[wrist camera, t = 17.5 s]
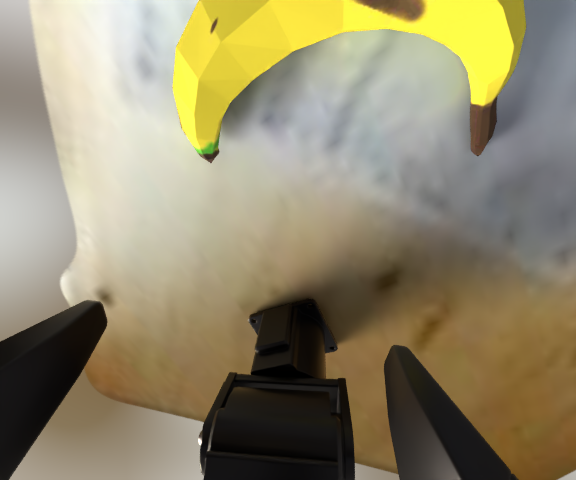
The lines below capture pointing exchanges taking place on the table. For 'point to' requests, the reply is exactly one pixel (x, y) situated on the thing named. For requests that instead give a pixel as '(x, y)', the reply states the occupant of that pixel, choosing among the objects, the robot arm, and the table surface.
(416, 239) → the table surface
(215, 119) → the banana
